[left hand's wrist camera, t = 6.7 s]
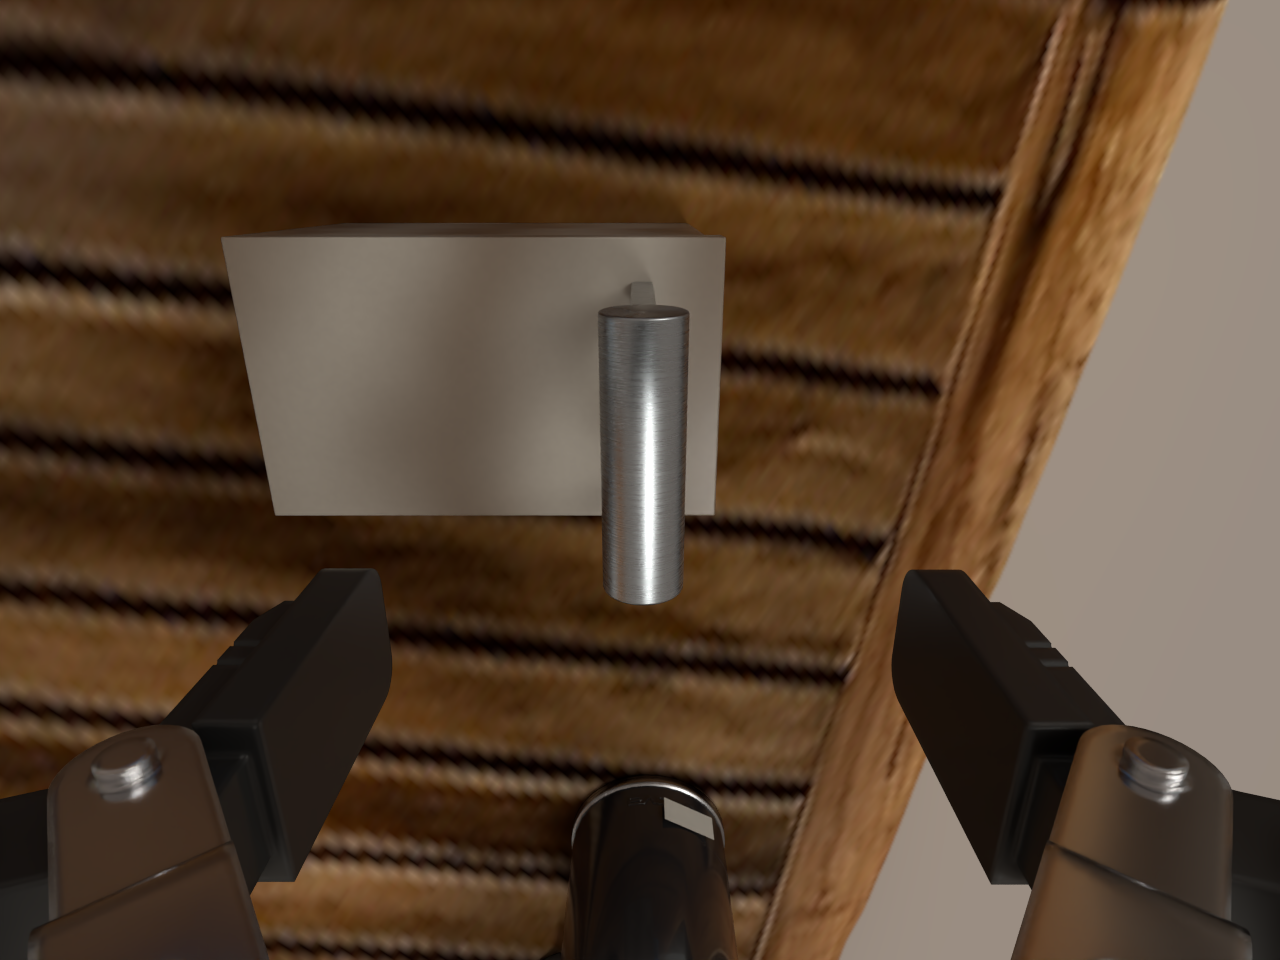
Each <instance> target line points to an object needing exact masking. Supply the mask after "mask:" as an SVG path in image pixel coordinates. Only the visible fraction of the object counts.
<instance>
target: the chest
mask: <svg viewBox="0 0 1280 960" xmlns="http://www.w3.org/2000/svg"><path fill="white" fill-rule="evenodd" d="M245 235H704V234H702V233H701V232H699V231H698V230H696V229H695V228H693V227H692V226H690V225H689V224H687V223H343V224H334V225H325V226H316V227H307V228H299V229H290V230H281V231H272V232H263V233H254V234H245Z"/></svg>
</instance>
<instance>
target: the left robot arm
mask: <svg viewBox="0 0 1280 960" xmlns="http://www.w3.org/2000/svg"><path fill="white" fill-rule="evenodd" d="M391 676H392V654H391V647H390V640H389V633H388V626H387V619H386V612H385V605H384V598H383V591H382V585H381V580H380V577H379V574H378V573H377V571H376V570H375V569H322V570H320V571H319V572H318V573H317V575H316V576H315V577H314V578H313V579H312V581H311V582H310V583H309V584H308V585H307V587H306V588H305V589H304V590H303V591H302V592H301V594H300V595H299V596H298V597H297V598H296V600H295V601H284V602H282V603H280V604H279V605H277V606H276V607H274V608H272V609H271V610H269V611H267V612H266V613H264V614H262V615H261V616H259V617H257V618H256V619H254V620H253V621H252V622H251V623H250V624H249V626H248V627H247V628H246V629H245V630H244V631H243V632H242V633H241V634H240V636H239V637H238V638H237V639H236V640H235V641H234V646H230V647H229V648H228V649H227V650H226V651H225V652H224V653H223V655H222V656H221V657H220V658H219V659H218V660H217V665H213V666H212V667H211V668H210V669H209V670H208V671H207V672H206V673H205V675H204V676H203V677H202V678H201V679H200V680H199V681H198V682H197V683H196V685H195V686H194V687H193V688H192V689H191V690H190V691H189V692H188V693H187V695H186V696H185V697H184V698H183V699H182V700H181V701H180V702H179V703H178V705H177V706H176V707H175V708H174V709H173V710H172V711H171V712H170V713H169V715H168V716H167V717H166V718H165V719H164V720H163V721H162V722H161V723H160V725H154V726H146V727H142V728H137V729H133V730H130V731H127V732H123V733H121V734H118V735H115V736H113V737H110V738H108V739H106V740H104V741H102V742H100V743H98V744H96V745H94V746H92V747H91V748H89V749H87V750H85V751H84V752H83V753H81V754H80V755H78V756H77V757H75V758H74V759H73V760H72V761H70V762H69V763H68V764H67V765H66V766H65V767H64V768H63V769H62V770H61V771H60V772H59V773H58V774H57V775H56V777H55V778H54V780H53V781H52V783H51V785H50V787H49V789H45V790H40V791H36V792H31V793H26V794H22V795H17V796H13V797H8V798H3V799H0V960H269V957H268V954H267V951H266V947H265V944H264V941H263V937H262V934H261V931H260V928H259V924H258V921H257V918H256V914H255V911H254V908H253V905H252V901H251V898H250V894H251V892H252V891H253V889H254V887H255V885H256V883H257V882H295V880H296V878H297V876H298V874H299V872H300V870H301V868H302V866H303V864H304V862H305V860H306V858H307V856H308V854H309V852H310V850H311V848H312V846H313V844H314V842H315V840H316V838H317V836H318V834H319V832H320V830H321V828H322V826H323V824H324V822H325V820H326V818H327V816H328V814H329V812H330V810H331V808H332V806H333V804H334V802H335V800H336V798H337V796H338V794H339V792H340V790H341V788H342V786H343V784H344V782H345V780H346V778H347V776H348V774H349V772H350V770H351V768H352V766H353V764H354V762H355V760H356V758H357V756H358V754H359V752H360V750H361V748H362V746H363V744H364V742H365V740H366V738H367V736H368V734H369V732H370V730H371V728H372V726H373V724H374V722H375V720H376V717H377V715H378V713H379V711H380V709H381V707H382V705H383V703H384V701H385V699H386V697H387V694H388V691H389V688H390V683H391ZM892 679H893V685H894V690H895V693H896V696H897V699H898V701H899V703H900V705H901V707H902V709H903V711H904V713H905V715H906V717H907V719H908V721H909V723H910V725H911V727H912V729H913V731H914V733H915V735H916V737H917V739H918V741H919V743H920V745H921V747H922V749H923V751H924V753H925V755H926V757H927V759H928V761H929V763H930V764H931V766H932V768H933V770H934V772H935V774H936V776H937V778H938V780H939V782H940V784H941V786H942V788H943V790H944V792H945V794H946V796H947V798H948V800H949V802H950V804H951V806H952V808H953V810H954V812H955V814H956V816H957V818H958V820H959V822H960V824H961V826H962V828H963V830H964V832H965V834H966V836H967V838H968V840H969V841H970V843H971V846H972V848H973V849H974V851H975V853H976V855H977V857H978V859H979V861H980V863H981V865H982V867H983V869H984V871H985V873H986V875H987V877H988V879H989V881H990V883H991V884H1029V886H1030V888H1031V890H1032V891H1031V895H1030V898H1029V901H1028V905H1027V908H1026V911H1025V915H1024V918H1023V921H1022V924H1021V928H1020V931H1019V934H1018V937H1017V941H1016V944H1015V947H1014V951H1013V954H1012V957H1011V960H1280V800H1276V799H1271V798H1266V797H1262V796H1257V795H1253V794H1248V793H1243V792H1239V791H1235V790H1232V789H1231V787H1230V785H1229V783H1228V781H1227V780H1226V778H1225V777H1224V775H1223V774H1222V773H1221V772H1220V771H1219V770H1218V769H1217V768H1216V767H1215V766H1214V765H1213V764H1212V763H1211V762H1210V761H1208V760H1207V759H1206V758H1205V757H1203V756H1202V755H1200V754H1199V753H1197V752H1196V751H1195V750H1193V749H1191V748H1189V747H1188V746H1186V745H1184V744H1182V743H1180V742H1178V741H1176V740H1174V739H1172V738H1170V737H1167V736H1164V735H1162V734H1159V733H1156V732H1153V731H1150V730H1147V729H1143V728H1138V727H1134V726H1126V725H1125V724H1124V723H1123V722H1122V721H1121V720H1120V719H1119V718H1118V717H1117V715H1116V714H1115V713H1114V712H1113V711H1112V710H1111V709H1110V708H1109V707H1108V705H1107V704H1106V703H1105V702H1104V701H1103V700H1102V699H1101V698H1100V697H1099V696H1098V694H1097V693H1096V692H1095V691H1094V690H1093V689H1092V688H1091V687H1090V686H1089V685H1088V683H1087V682H1086V681H1085V680H1084V679H1083V678H1082V677H1081V676H1080V675H1079V673H1078V672H1077V671H1076V670H1075V669H1074V668H1073V667H1069V666H1068V661H1067V660H1066V659H1065V658H1064V657H1063V656H1062V655H1061V654H1060V653H1059V651H1058V650H1057V649H1056V648H1052V647H1051V643H1050V642H1049V640H1048V639H1047V638H1046V637H1045V636H1044V635H1043V634H1042V633H1041V632H1040V631H1039V629H1038V628H1037V627H1036V626H1035V625H1034V624H1033V623H1032V622H1031V621H1030V620H1028V619H1027V618H1025V617H1023V616H1022V615H1020V614H1018V613H1017V612H1015V611H1013V610H1012V609H1010V608H1009V607H1007V606H1005V605H1004V604H1002V603H1000V602H990V601H989V600H988V599H987V598H986V597H985V595H984V594H983V593H982V592H981V591H980V589H979V588H978V587H977V586H976V585H975V584H974V582H973V581H972V580H971V579H970V578H969V577H968V575H967V574H966V573H965V572H964V571H962V570H910V571H908V572H907V574H906V576H905V578H904V581H903V586H902V592H901V599H900V606H899V613H898V620H897V626H896V633H895V640H894V647H893V654H892ZM724 845H725V839H724V830H723V824H722V820H721V817H720V814H719V812H718V810H717V808H716V807H715V805H714V804H713V803H712V802H711V800H710V799H709V798H708V797H707V796H706V795H705V794H703V793H702V792H701V791H699V790H698V789H696V788H695V787H693V786H691V785H689V784H687V783H685V782H682V781H680V780H676V779H673V778H669V777H663V776H654V775H642V776H633V777H628V778H624V779H620V780H617V781H614V782H612V783H609V784H607V785H605V786H603V787H602V788H600V789H599V790H597V791H596V792H594V793H593V794H592V795H591V796H589V798H588V799H587V800H586V801H585V802H584V803H583V804H582V806H581V807H580V809H579V810H578V812H577V815H576V817H575V820H574V824H573V831H572V856H571V866H570V876H569V883H568V893H567V903H566V913H565V923H564V932H563V942H562V952H561V953H558V954H555V955H552V956H550V957H548V958H546V959H544V960H738V955H737V947H736V939H735V932H734V924H733V916H732V908H731V900H730V892H729V883H728V875H727V867H726V859H725V851H724Z"/></svg>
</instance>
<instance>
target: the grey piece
mask: <svg viewBox="0 0 1280 960" xmlns="http://www.w3.org/2000/svg"><path fill="white" fill-rule="evenodd" d="M221 241H222V247H223V252H224V257H225V262H226V267H227V272H228V277H229V282H230V287H231V292H232V298H233V303H234V308H235V313H236V318H237V323H238V328H239V333H240V338H241V343H242V349H243V354H244V359H245V364H246V369H247V374H248V379H249V384H250V389H251V394H252V399H253V405H254V410H255V415H256V420H257V425H258V430H259V435H260V440H261V445H262V450H263V456H264V461H265V466H266V471H267V476H268V481H269V486H270V491H271V496H272V501H273V507H274V512H275V515H602V548H603V587H604V589H605V591H606V593H607V594H608V595H609V596H611V597H612V598H614V599H616V600H618V601H620V602H623V603H627V604H633V605H654V604H659V603H663V602H666V601H669V600H671V599H673V598H674V597H676V596H677V595H678V594H679V593H680V592H681V590H682V588H683V564H684V523H685V515H714V514H715V496H716V471H717V447H718V422H719V397H720V372H721V347H722V323H723V298H724V273H725V248H726V238H725V237H724V236H722V235H236V236H227V237H221Z"/></svg>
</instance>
